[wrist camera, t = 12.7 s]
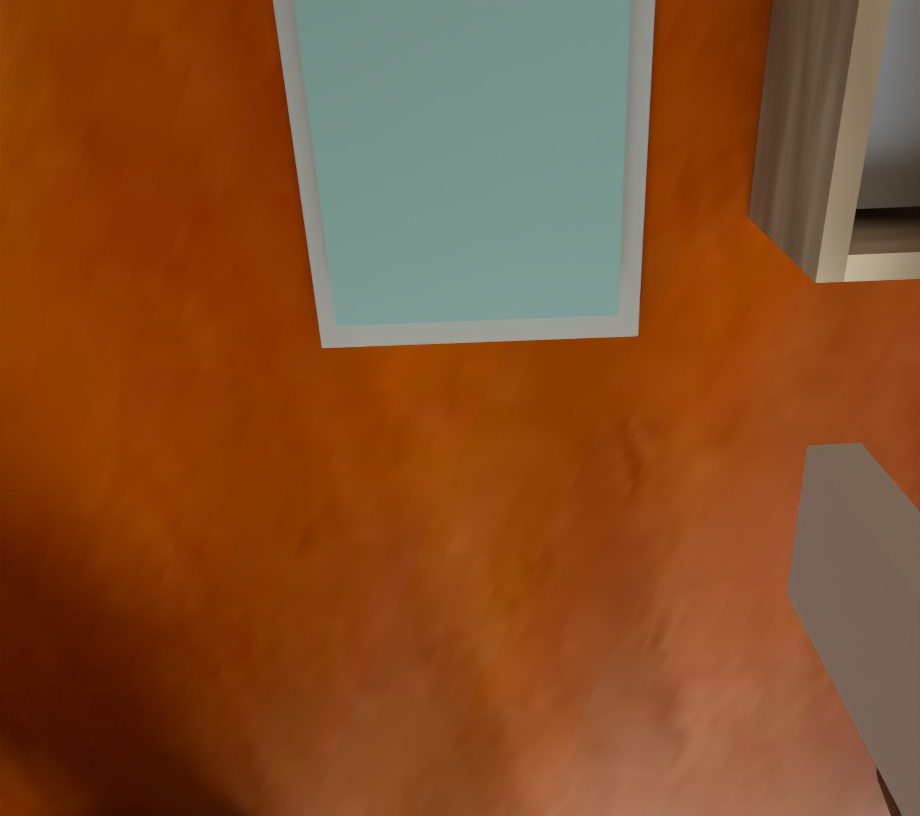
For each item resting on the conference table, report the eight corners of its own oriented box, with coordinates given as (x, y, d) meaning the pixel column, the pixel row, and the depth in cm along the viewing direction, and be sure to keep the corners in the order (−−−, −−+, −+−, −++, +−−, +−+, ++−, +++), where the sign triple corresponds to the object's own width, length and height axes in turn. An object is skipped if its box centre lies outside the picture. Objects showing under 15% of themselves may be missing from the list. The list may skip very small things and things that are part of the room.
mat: (327, 335, 33) (322, 347, 32) (238, -315, 24) (226, -328, 23) (632, 323, 33) (638, 336, 32) (665, -348, 23) (673, -362, 22)
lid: (343, 309, 31) (336, 326, 30) (271, -262, 23) (257, -276, 22) (612, 298, 31) (618, 314, 29) (632, -288, 23) (642, -304, 21)
